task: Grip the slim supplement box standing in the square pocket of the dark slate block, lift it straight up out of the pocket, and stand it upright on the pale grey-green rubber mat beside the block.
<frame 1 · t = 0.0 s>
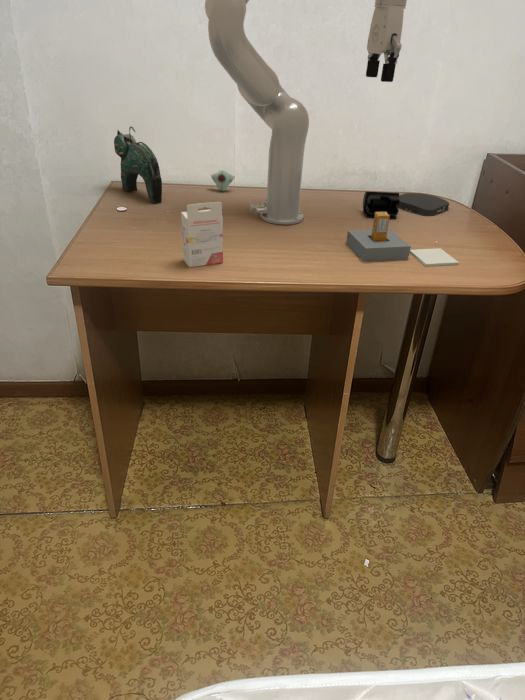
hand: (378, 79, 136), 37 cm above the table, tool pointing down, fingers open, 9 cm apart
ceramic cat: (142, 196, 163), on the table
ink cartridge box: (202, 262, 123), on the table
valved respirator: (222, 191, 170), on the table
media streaming box: (420, 208, 167), on the table
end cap: (379, 215, 158), on the table
rubber mat: (432, 258, 131), on the table
pocket block: (376, 251, 133), on the table
supplement box: (375, 252, 134), resting in pocket block
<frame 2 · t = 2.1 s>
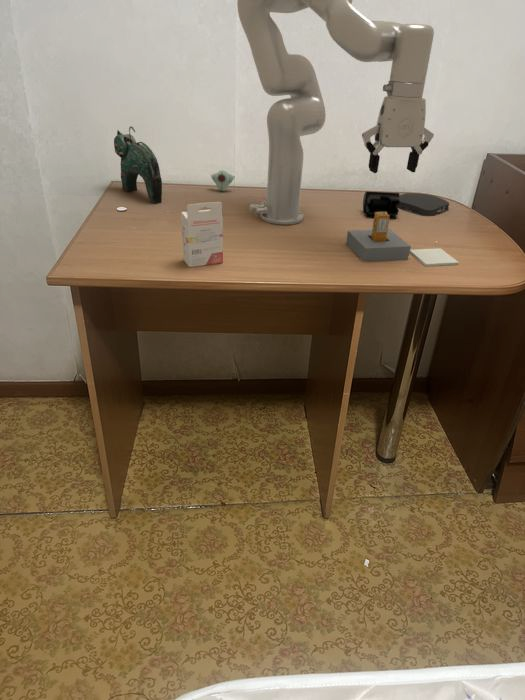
hand: (392, 171, 122), 20 cm above the table, tool pointing down, fingers open, 9 cm apart
nothing on the table moved.
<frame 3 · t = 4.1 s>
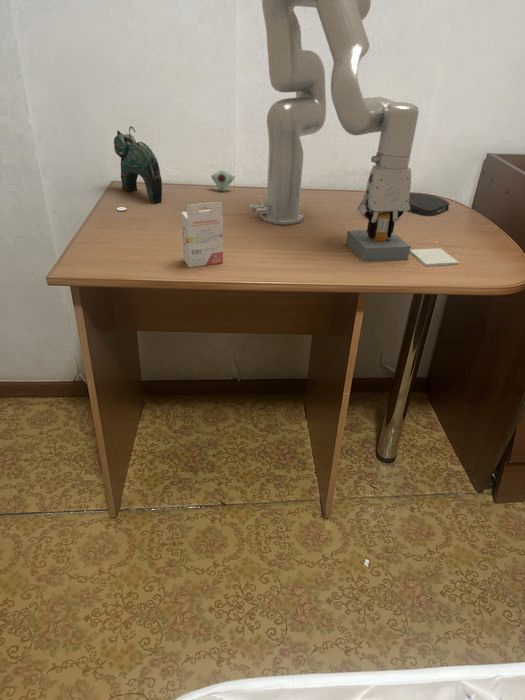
hand: (379, 235, 131), 4 cm above the table, tool pointing down, fingers closed on supplement box, 3 cm apart
supplement box: (376, 251, 134), resting in pocket block, touching gripper
everything else where it was.
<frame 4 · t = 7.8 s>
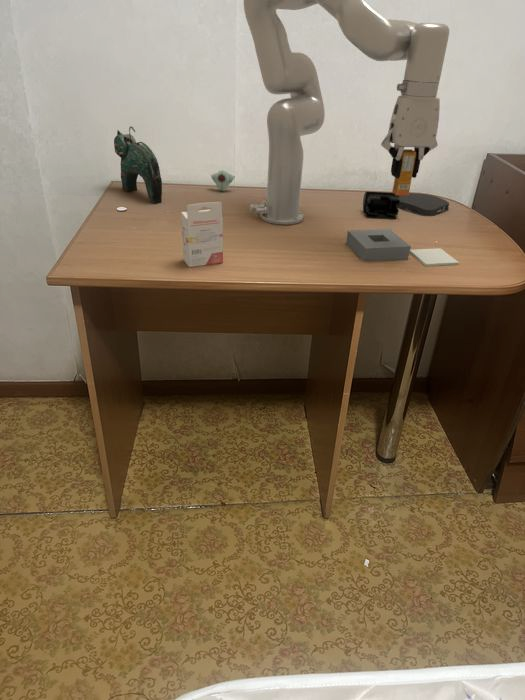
hand: (403, 175, 122), 19 cm above the table, tool pointing down, fingers closed on supplement box, 3 cm apart
supplement box: (399, 194, 125), point 15 cm above the table, touching gripper
everything else where it was.
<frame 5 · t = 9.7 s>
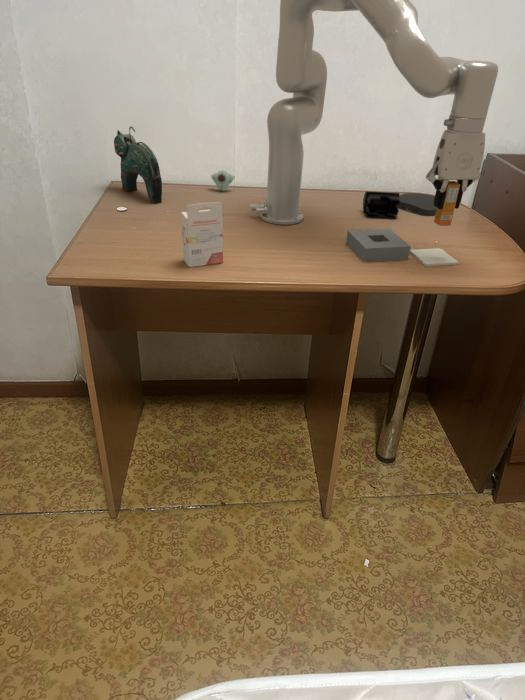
hand: (446, 206, 124), 13 cm above the table, tool pointing down, fingers closed on supplement box, 3 cm apart
supplement box: (441, 224, 126), point 9 cm above the table, touching gripper
everything else where it was.
when the fingers open (6 cm above the table, at t = 11.3 s): supplement box stays where it is, resting on rubber mat.
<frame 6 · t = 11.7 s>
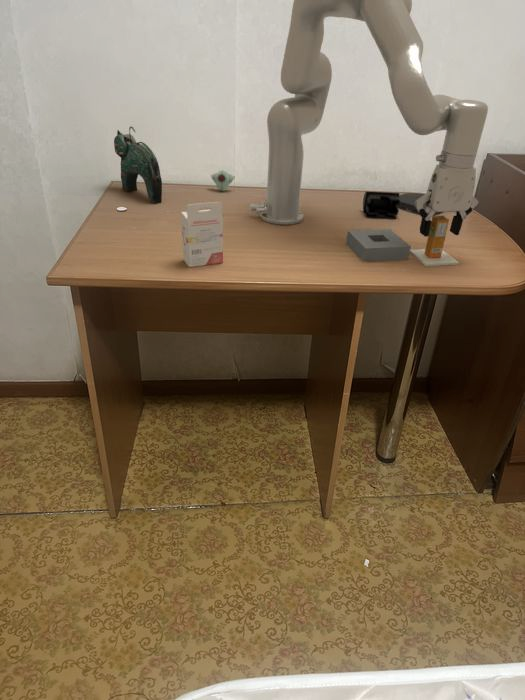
hand: (439, 233, 128), 7 cm above the table, tool pointing down, fingers open, 7 cm apart
supplement box: (431, 256, 131), resting on rubber mat
everything else where it was.
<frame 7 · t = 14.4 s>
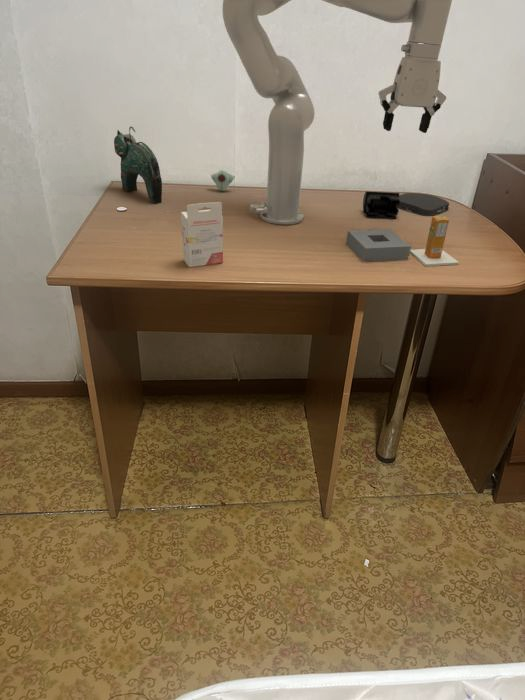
hand: (404, 130, 129), 27 cm above the table, tool pointing down, fingers open, 9 cm apart
nothing on the table moved.
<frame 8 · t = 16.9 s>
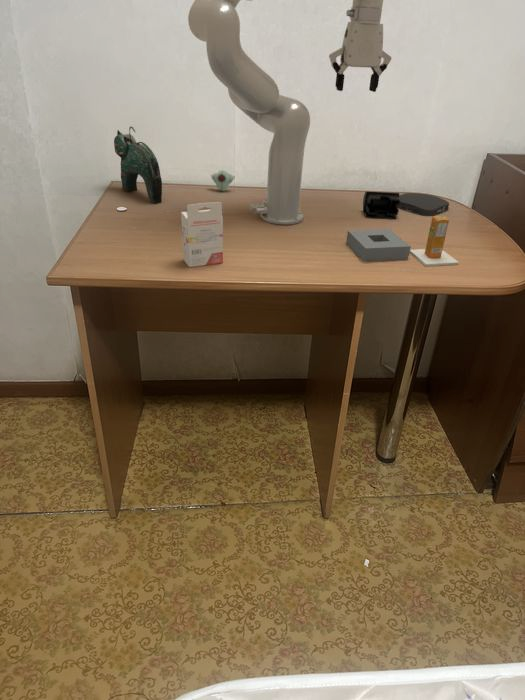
hand: (356, 90, 141), 33 cm above the table, tool pointing down, fingers open, 9 cm apart
nothing on the table moved.
at the end: supplement box 0.4 cm off-centre on the rubber mat, point 0.4 cm above the rubber mat's base; supplement box tilted 0°; the gripper is holding nothing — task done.
